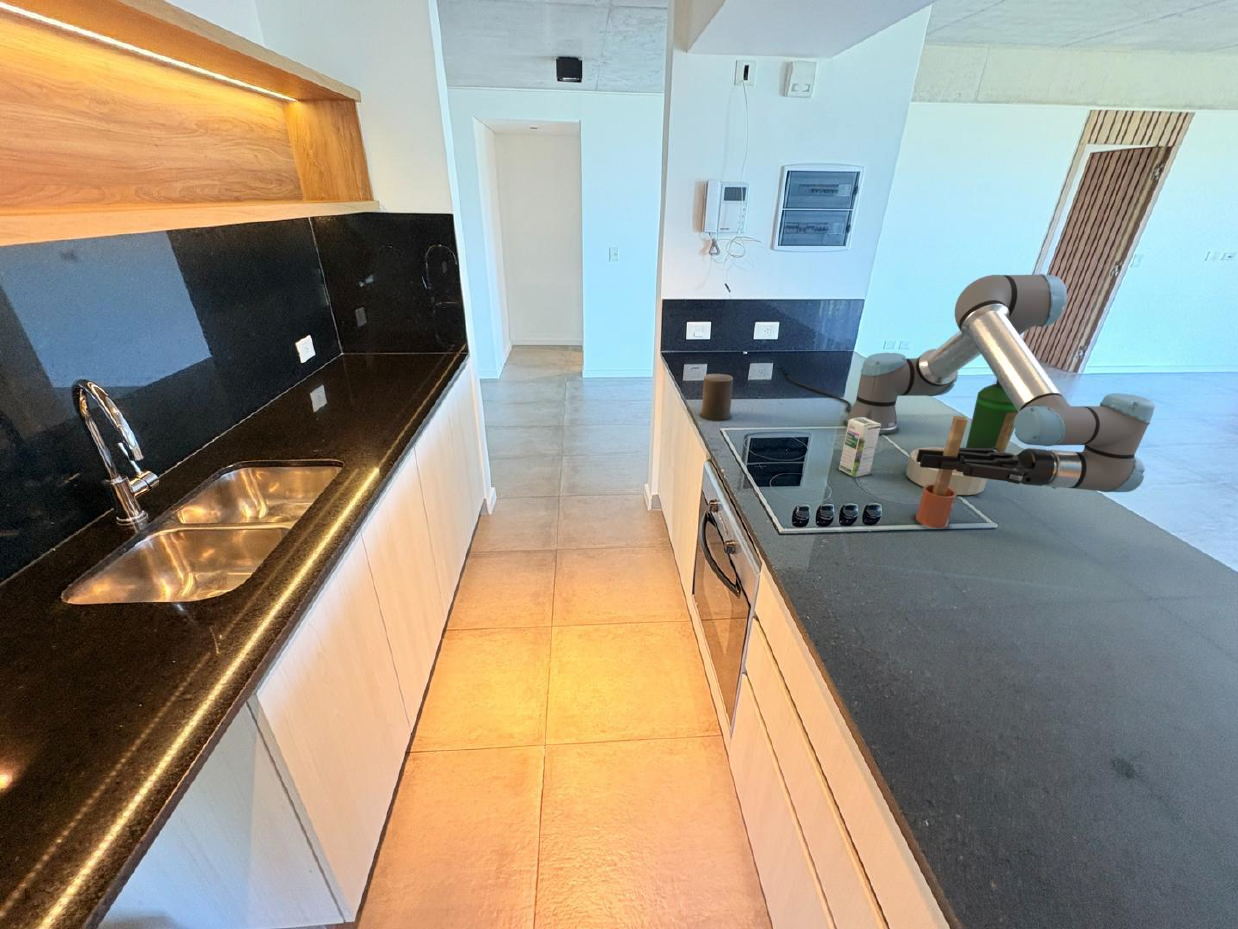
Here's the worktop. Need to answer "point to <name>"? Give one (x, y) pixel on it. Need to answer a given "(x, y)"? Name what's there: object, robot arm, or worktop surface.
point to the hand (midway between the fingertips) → (920, 458)
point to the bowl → (929, 475)
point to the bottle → (992, 419)
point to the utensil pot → (935, 507)
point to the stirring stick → (950, 454)
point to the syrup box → (859, 446)
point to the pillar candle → (717, 396)
